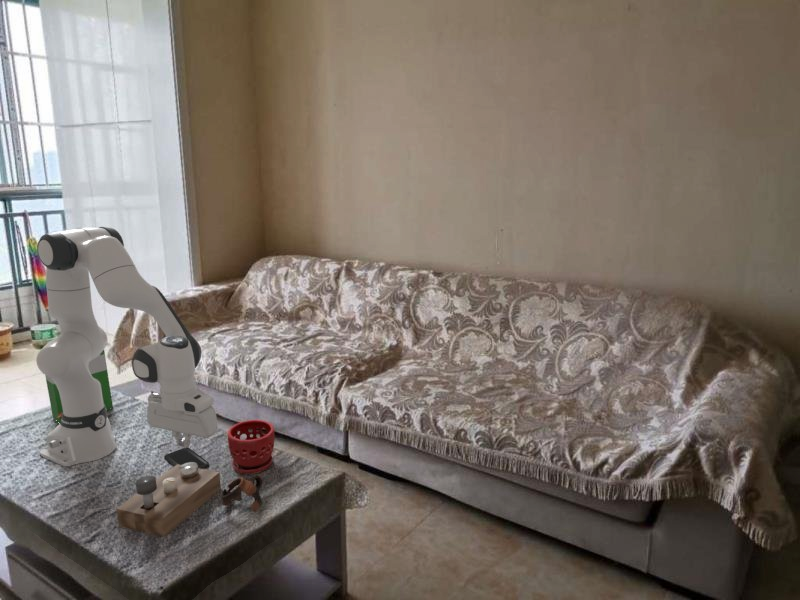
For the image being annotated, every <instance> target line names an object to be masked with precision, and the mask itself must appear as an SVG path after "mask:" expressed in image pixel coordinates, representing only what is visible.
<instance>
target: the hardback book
mask: <svg viewBox="0 0 800 600" xmlns="http://www.w3.org/2000/svg"><path fill="white" fill-rule="evenodd" d="M88 368H89V371H90V373H91V375H92V377H93V378H95V379H97V380H98V381H99V382H100V384H101V389H102V396H103V403H104V404H105V406H106V409H107V411H109V410H111V409H110V408H112V409H114V405H113V398H112V393H111V392H112V391H111V387H110V386H111V384H110V380H109V373H108V367H107V358H106V353H105V349H104V350H103V351H102V353H101V354H100V355H99V356H98V357H96V358H95V359H93V360H92V361H90V362H89V364H88ZM44 375H45V374H44ZM45 381H46V387H47V392H48V398H49V403H50V409H51V413H52V414H51V415H52V419H53V418H54V419H55V420H57V421H58V422H59V423H61V417H62V416H61V417H59V418H57V417H58V416H60V415H61V414H60V413H62V412H63V409H62V403H61V398H60V394H59V391H58V388H57V386H56V384H55V382H54V381H53V379H52V378H51V377H48V376H46V375H45ZM108 409H109V410H108ZM58 414H60V415H58ZM54 419H53V420H54ZM55 420H54V421H55ZM58 422H57V423H58ZM59 423H58V424H59Z"/></svg>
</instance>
